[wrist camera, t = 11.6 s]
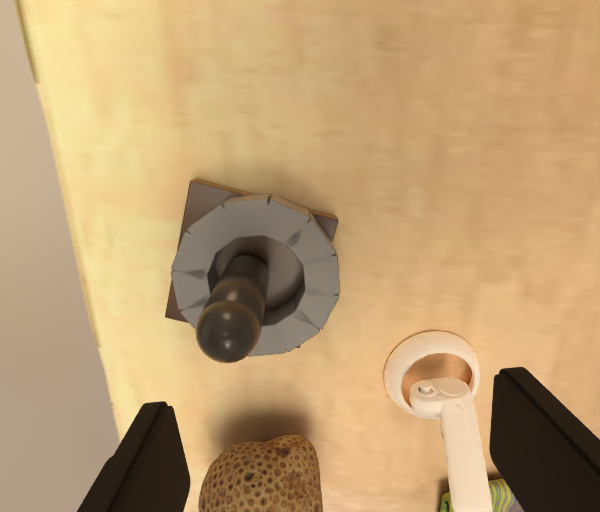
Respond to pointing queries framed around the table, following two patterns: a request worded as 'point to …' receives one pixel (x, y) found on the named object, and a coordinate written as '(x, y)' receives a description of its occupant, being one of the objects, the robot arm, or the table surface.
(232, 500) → the natural sponge
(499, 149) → the table surface
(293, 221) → the grey ring
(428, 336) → the white lever handle
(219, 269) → the spindle
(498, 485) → the dish towel
